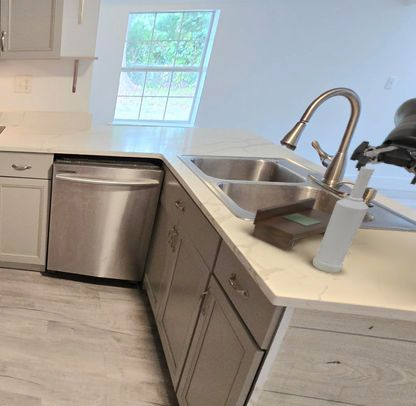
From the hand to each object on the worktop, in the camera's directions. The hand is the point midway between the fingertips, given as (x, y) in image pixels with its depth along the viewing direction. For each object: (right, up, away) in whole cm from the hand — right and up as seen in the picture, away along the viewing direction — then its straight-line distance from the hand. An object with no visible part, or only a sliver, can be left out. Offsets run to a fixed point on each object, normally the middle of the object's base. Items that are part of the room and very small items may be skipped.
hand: (387, 174), depth 80 cm
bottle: (-6, -22, +7) cm, 24 cm away
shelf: (-1, -16, +21) cm, 27 cm away
